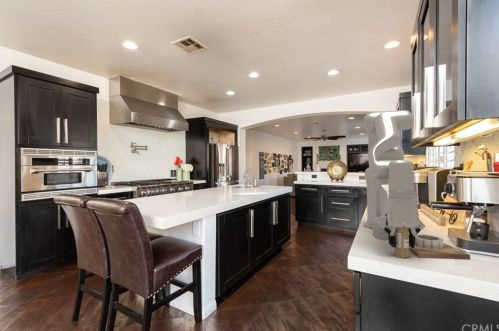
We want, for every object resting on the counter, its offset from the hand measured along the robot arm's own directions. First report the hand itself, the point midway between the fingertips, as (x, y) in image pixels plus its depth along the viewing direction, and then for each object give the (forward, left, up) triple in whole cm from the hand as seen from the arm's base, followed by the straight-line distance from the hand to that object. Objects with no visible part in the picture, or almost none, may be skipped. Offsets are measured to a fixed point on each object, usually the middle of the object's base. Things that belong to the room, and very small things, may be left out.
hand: (401, 246), depth 85 cm
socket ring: (-8, +13, -2) cm, 15 cm away
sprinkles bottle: (0, 0, -4) cm, 4 cm away
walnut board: (-8, +13, -3) cm, 16 cm away
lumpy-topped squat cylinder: (-25, +5, -4) cm, 26 cm away
